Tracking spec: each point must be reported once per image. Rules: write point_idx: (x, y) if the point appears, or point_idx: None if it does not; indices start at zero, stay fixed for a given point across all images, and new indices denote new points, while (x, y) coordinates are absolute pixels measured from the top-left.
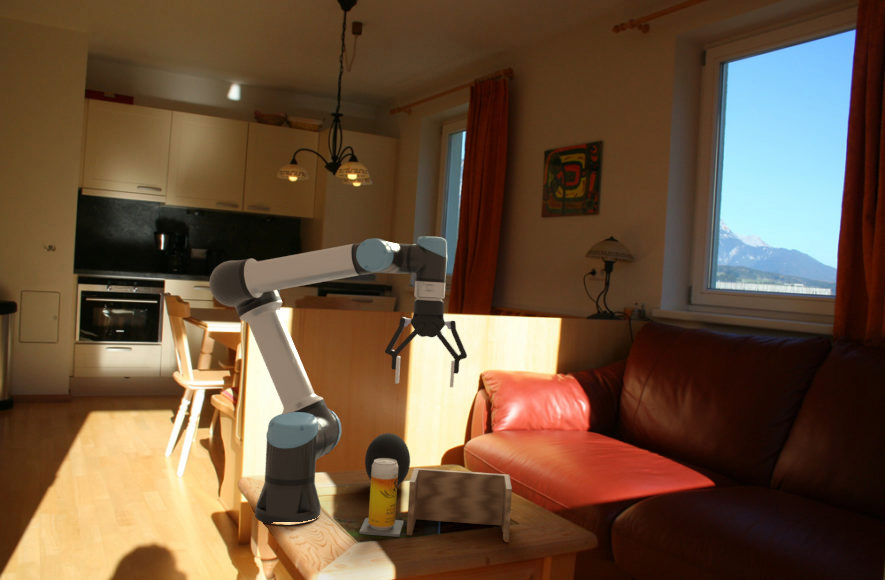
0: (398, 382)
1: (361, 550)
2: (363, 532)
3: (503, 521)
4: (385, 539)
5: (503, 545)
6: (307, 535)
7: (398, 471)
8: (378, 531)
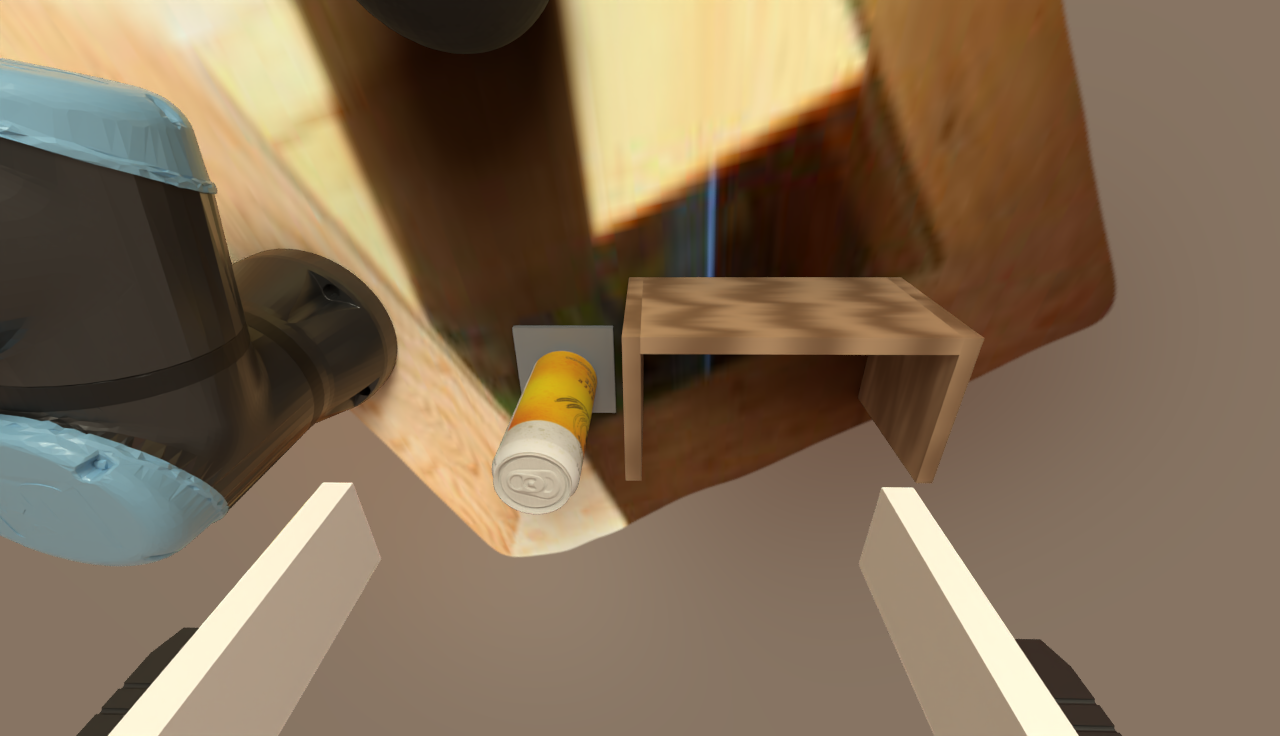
0: (366, 531)
1: None
2: None
3: (881, 379)
4: None
5: (853, 413)
6: (422, 433)
7: (527, 29)
8: None
